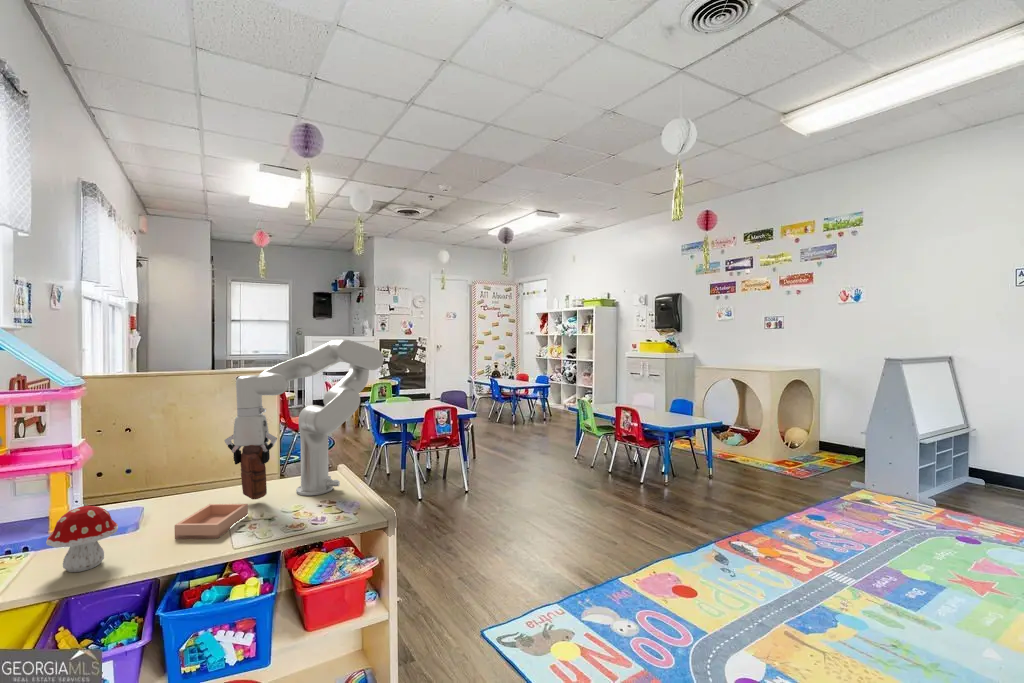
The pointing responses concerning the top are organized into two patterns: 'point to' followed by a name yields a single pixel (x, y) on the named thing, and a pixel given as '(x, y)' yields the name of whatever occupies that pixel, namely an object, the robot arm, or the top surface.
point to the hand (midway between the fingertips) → (251, 462)
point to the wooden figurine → (253, 472)
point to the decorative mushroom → (82, 536)
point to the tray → (210, 521)
